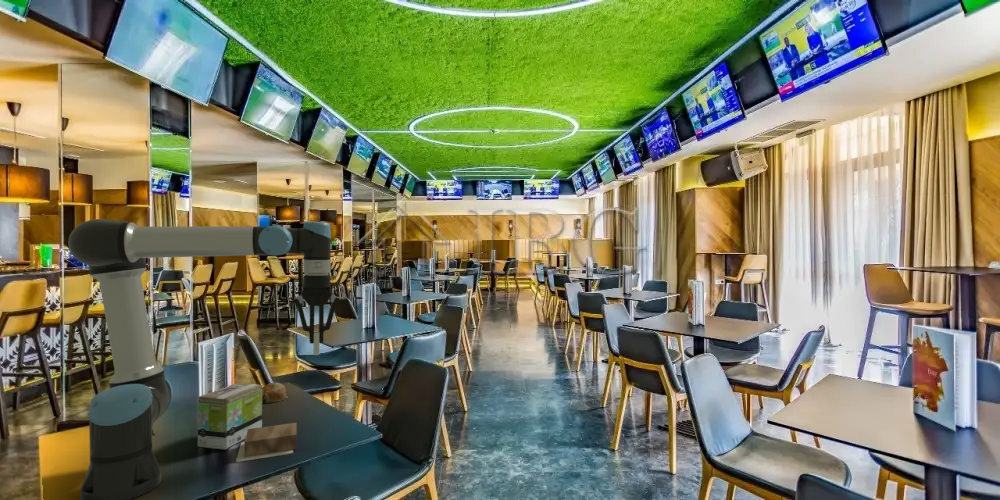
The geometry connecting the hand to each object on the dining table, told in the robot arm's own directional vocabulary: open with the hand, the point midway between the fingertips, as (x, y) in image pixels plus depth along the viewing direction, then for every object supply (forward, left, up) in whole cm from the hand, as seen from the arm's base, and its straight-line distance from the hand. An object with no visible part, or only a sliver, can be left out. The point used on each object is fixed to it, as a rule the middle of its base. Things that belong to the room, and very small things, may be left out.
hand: (316, 354), depth 142 cm
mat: (-13, 0, -26) cm, 29 cm away
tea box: (-24, +12, -26) cm, 37 cm away
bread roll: (-14, +48, -26) cm, 56 cm away
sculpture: (-47, +25, -26) cm, 59 cm away
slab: (-6, 0, -23) cm, 24 cm away
